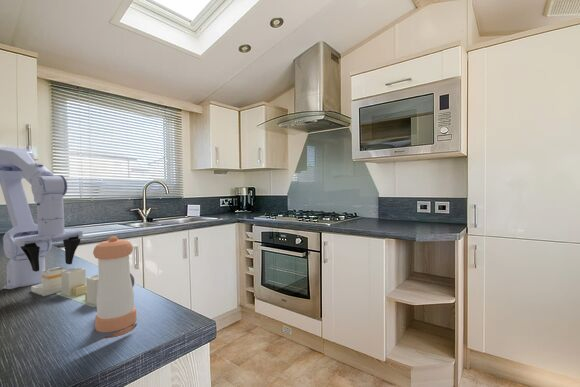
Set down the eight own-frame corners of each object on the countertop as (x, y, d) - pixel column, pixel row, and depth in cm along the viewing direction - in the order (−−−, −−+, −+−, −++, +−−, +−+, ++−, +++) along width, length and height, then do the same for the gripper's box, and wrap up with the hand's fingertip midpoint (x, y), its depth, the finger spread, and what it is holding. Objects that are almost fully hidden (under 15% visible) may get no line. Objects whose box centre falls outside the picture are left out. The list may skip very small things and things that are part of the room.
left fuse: (61, 293, 78) (60, 271, 78) (78, 288, 81) (77, 267, 81) (69, 295, 76) (68, 272, 76) (86, 290, 79) (85, 268, 79)
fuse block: (55, 298, 78) (55, 286, 78) (80, 290, 83) (80, 279, 83) (94, 312, 68) (93, 298, 68) (119, 303, 73) (119, 290, 73)
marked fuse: (42, 291, 80) (41, 270, 80) (59, 287, 84) (58, 266, 84) (49, 294, 78) (47, 272, 78) (66, 289, 82) (65, 268, 82)
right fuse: (87, 301, 72) (86, 277, 71) (104, 296, 75) (103, 273, 75) (95, 304, 70) (94, 280, 69) (112, 298, 73) (112, 275, 73)
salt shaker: (91, 341, 55) (87, 241, 54) (99, 325, 62) (95, 235, 61) (135, 333, 58) (131, 237, 57) (138, 318, 65) (134, 232, 64)
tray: (31, 295, 80) (31, 286, 80) (63, 287, 86) (63, 278, 86) (43, 300, 76) (43, 290, 76) (76, 291, 83) (75, 282, 83)
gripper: (23, 222, 72) (25, 276, 73) (87, 216, 85) (89, 262, 85) (12, 221, 76) (14, 272, 76) (75, 215, 88) (76, 259, 89)
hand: (53, 267), depth 81 cm, fingers open, 7 cm apart
